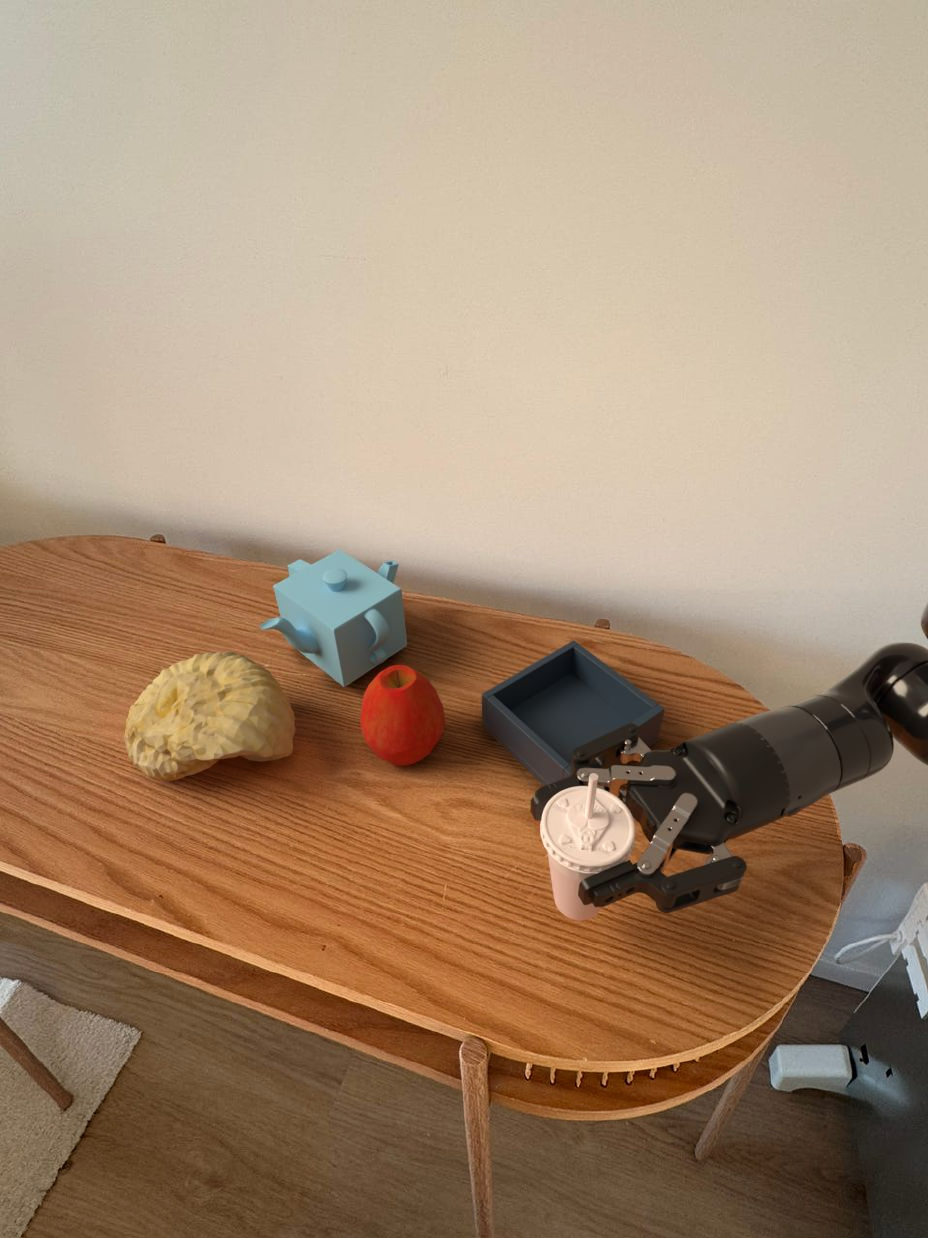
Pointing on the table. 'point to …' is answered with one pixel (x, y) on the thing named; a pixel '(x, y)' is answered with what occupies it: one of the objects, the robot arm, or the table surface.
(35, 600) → the table surface
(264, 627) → the teapot
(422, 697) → the apple
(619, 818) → the smoothie
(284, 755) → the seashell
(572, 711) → the bin
